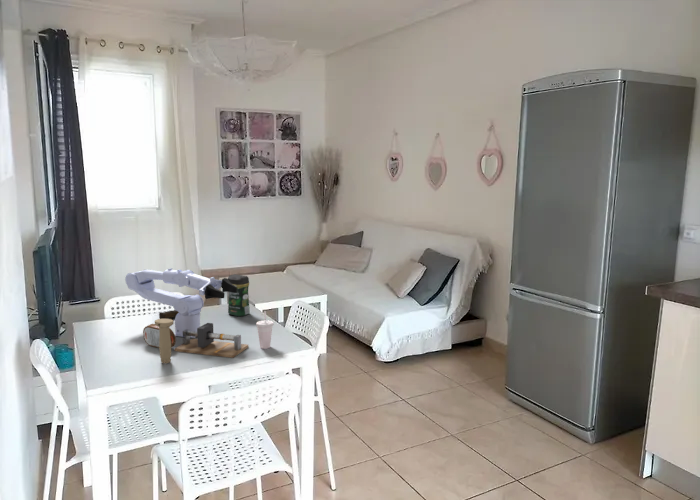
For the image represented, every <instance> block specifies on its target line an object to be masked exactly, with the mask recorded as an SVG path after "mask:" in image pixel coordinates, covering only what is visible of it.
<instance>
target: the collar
mask: <svg viewBox="0 0 700 500" xmlns="http://www.w3.org/2000/svg"><path fill="white" fill-rule="evenodd" d="M206 332H207V333H214V323H213V322H207V323H204V324H202V325H200V327H199V328H197V337H196V339H198V347H202V348H204V347H206V346H207V345H209V344H211V343H212V342H214V341H215V339H212V338H206Z"/></svg>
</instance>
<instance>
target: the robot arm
mask: <svg viewBox="0 0 700 500" xmlns="http://www.w3.org/2000/svg"><path fill="white" fill-rule="evenodd" d="M124 280H125V284H126V286H127V288H128V290H129V291H130V290H131V291H134V292H135V293H136V294H138V296H140V297H141V298H142V299H144V300H147V301H151V302H155V303H160V304H162V305H166V306H170V307H173V309H174V310H176V311H178V312H179V313H178V314H177V315H176V317H174V329H175V333H174V334H175V337H182V338H183V331H184V330H186V329H187V330H190V331H197V328H199V327H200V326H201V312H202V309H203V308H204V299H205V300H209V299H225V294H226V293H229V292H233V293H236V292H237V287H236V286H234V285H233V284H231V283H230V282H229V280H228V277H227V278H226V277H223V278H222V279H216V278H215V276H212V277H211V276H210V277H206V276H203V275H199V274H197V273H195V272H194V271H192V270H191V269H185V270H182V269H177V270H176V269H173V268H172V267H169V268H167V269H165V270H164V271H161V270H154V269H143V270H140V271H134V272H129V273H127V274H126V275H125V279H124ZM156 280H158V281H163V283H164V284H170V285H176V286H177V285H178V287H179V288H182V287H185V286H186V287H188V288H191V289H193V290H196V291H198V294H194V295H191V294H190V295H189V294H178V293H174V292H171V291H167V290H164V289H159V288H156V286H155V281H156ZM220 289H221V290H220ZM202 296H204V298H203V297H202ZM190 339H196V337H194V336H190Z"/></svg>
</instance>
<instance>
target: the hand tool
mask: <svg viewBox="0 0 700 500" xmlns="http://www.w3.org/2000/svg"><path fill="white" fill-rule="evenodd" d="M178 313H179V312H178V311H176V310H167V311H163V312H162V311H161V312H159V313H158V316H159V318H158V319H173V318H174V319H175V317H176V315H177V314H178Z"/></svg>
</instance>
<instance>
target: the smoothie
mask: <svg viewBox="0 0 700 500" xmlns="http://www.w3.org/2000/svg"><path fill="white" fill-rule="evenodd" d="M263 312H264V319H263V320H262V319H261V320H259V321H257V322H256V328H257V333H258V341H259V348H260V349H263V350H264V349H265V350H267V349H270V348H271V345H272V343H271V342H272V335H273V334H272V333H273V326H274V321H272V320H269V319H267V311H263Z"/></svg>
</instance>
